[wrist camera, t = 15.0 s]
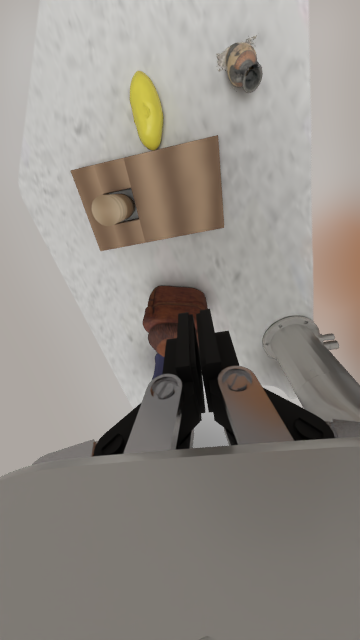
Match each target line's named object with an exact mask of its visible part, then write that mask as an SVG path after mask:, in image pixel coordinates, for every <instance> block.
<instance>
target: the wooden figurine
mask: <svg viewBox="0 0 360 640" xmlns="http://www.w3.org/2000/svg"><path fill="white" fill-rule="evenodd" d="M205 309H208V308H207V302H206V297H205V295H204V294H203V293H202V292H201V291H199V290H197V289H194V288H187V287H172V286H158V287H157V288H155V289H154V290H153V291H152V293H151V295H150V297H149V301H148V307H147V308H146V309H145V315H144V319H143V326H144V328H145V330H146V331H147V332H148V333H149V334H148V340H149V343H150V345H151V346H152V347H153V348H154V349H155V350H156V351H157V352H158V353H159V354H160V355H161V356H163V357H164V356H165V347H166V340H167V339H172V338H177V326H178V314H179V313H185V312H189V315H190V314H193V318H194V324H195V329H196V335H197V341H198V332H197V320H196V314H197V313H200V310H205ZM198 347H199V343H198Z"/></svg>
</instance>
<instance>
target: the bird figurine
mask: <svg viewBox="0 0 360 640" xmlns="http://www.w3.org/2000/svg"><path fill="white" fill-rule="evenodd" d="M256 36H257V35H256ZM256 36H255V37H254V36H253V37H251V38H248V39H247V40H248V42H249V43H246V42H247V40H246V42H245V43H244V42H239V43H235V44H233V45H231V46H230V47H228V48H227V49H226V50H225V51H224V52H223V51H222V53H221V54H220V55H219V56H217V58H218V59H219V61H217V63H218V62H219V64H218V65H219V66H222V67H223V68H224V69H225V71H226V70H227V72H228V77H229V79H230V81H231V83H232V84H233V85H234V86H237V87H242V86H243V88H244V90H245V92H247V93H251V92H253V91H254V90H256V89H257V87H258V86H259V84H260V82H261V79H262V67H261V65H260V64H259V63H258V62H257V56H256V52H255V50H254V48H253V47H252V46H251V45H250V44H251V43H252V42H251V40H252V38H253V40H254V39H255V38H256ZM248 37H249V36H248ZM252 44H254V43H252ZM217 55H218V54H217ZM223 68H222V70H223ZM220 70H221V69H219V71H220ZM230 89H231V88H230ZM233 89H234V88H233ZM234 90H235V89H234ZM236 92H237V91H236Z"/></svg>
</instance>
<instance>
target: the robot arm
mask: <svg viewBox="0 0 360 640" xmlns="http://www.w3.org/2000/svg"><path fill="white" fill-rule="evenodd" d="M196 320H197V332H198V341H197V335H196V329H195V324H194V318H193V314H190V315H189V312H185V313H179V314H178V326H177V338H172V339H167V340H166V347H165V356H164V364H163V372H162V375H160V376H157V377H156V378H154V379H153V380H152V381H151V382H150V383H149V385H148V387H147V389H146V392H145V395H144V398H143V400H142V403H141V404H139V405H138V406H137V407H136V408H135V409H133V410H132V411H131V412H130V413H129V414H128V415H127V416H125V417H124V418H123V419H122V420H120V421H119V422H118V423H117V424H116V425H115V426H113V427H112V428H111V429H110V430H109V431H107V432H106V433H105V434H104V435H103V436H102V437H101V438H100V439H99V441H96V442H95V441H94V440H90V441H87V442H84V443H81V444H77V445H74V446H71V447H68V448H65V449H62V450H59V451H56V452H53V453H49V454H47V455H45V456H42V457H40V458H39V459H38V460H37V461H35V462H34V463H33V464H32V465H31V466H28V467H25V468H22V469H19V470H16V471H13V472H10V473H8V474H6V475H4V476H1V477H0V640H360V385H359V384H358V383H357V382H356V381H355V379H354V378H353V377H352V376H351V375H350V374H349V373H348V371H347V370H346V369H345V368H344V367H343V366H342V365H341V364H340V363H339V361H338V360H337V359H336V358H335V357H334V356H333V355H332V353H331V352H330V351H329V350H331V349H338V348H339V344H338V342H337V341H328V342H323V341H324V340H334V338H335V336H334V334H326V335H322V334H320V333H319V329H318V327H317V325H316V324H315V323H314V322H313V321H311V320H310V319H308V318H306V317H301V316H293V317H288V318H284V319H282V320H280V321H278V322H276V323H275V324H273V325H272V326H271V327H270V328H269V329H268V330H267V331H266V333H265V335H264V338H263V347H264V350H265V352H266V353H267V354H268V355H269V356H270V357H272V358H273V359H276V360H278V362H279V364H280V366H281V367H282V369H283V371H284V373H285V375H286V377H287V379H288V380H289V382H290V384H291V386H292V388H293V390H294V391H295V393H296V395H297V397H298V399H299V401H300V402H301V404H302V406H303V408H304V409H303V408H301V407H299V406H297V405H296V404H294V403H292V402H290V401H288V400H286V399H284V398H282V397H280V396H278V395H276V394H274V393H272V392H270V391H268V390H266V389H265V388H263V387H262V386H261V384H260V382H259V381H258V379H257V377H256V376H255V374H254V373H253V372H252V371H251V370H249V369H248V368H245V367H242V366H239V363H238V360H237V357H236V353H235V350H234V347H233V344H232V340H231V337H230V334H229V331H224V332H217V333H215V332H214V327H213V322H212V317H211V312H210V309H205V310H200V313H197V314H196ZM198 343H199V347H198ZM201 370H202V371H201ZM202 376H203V381H202ZM203 382H204V387H205V393H206V398H207V404H208V410H209V412H213V413H214V419H215V421H216V422H218V423H219V424H220V425H222V426H223V427H224V431H225V434H226V437H227V441H228V444H229V446H218V447H205V448H193V439H194V427H195V426H196V425H197V424H198V423H199V422H200V421H201V413H205V404H204V392H203Z"/></svg>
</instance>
